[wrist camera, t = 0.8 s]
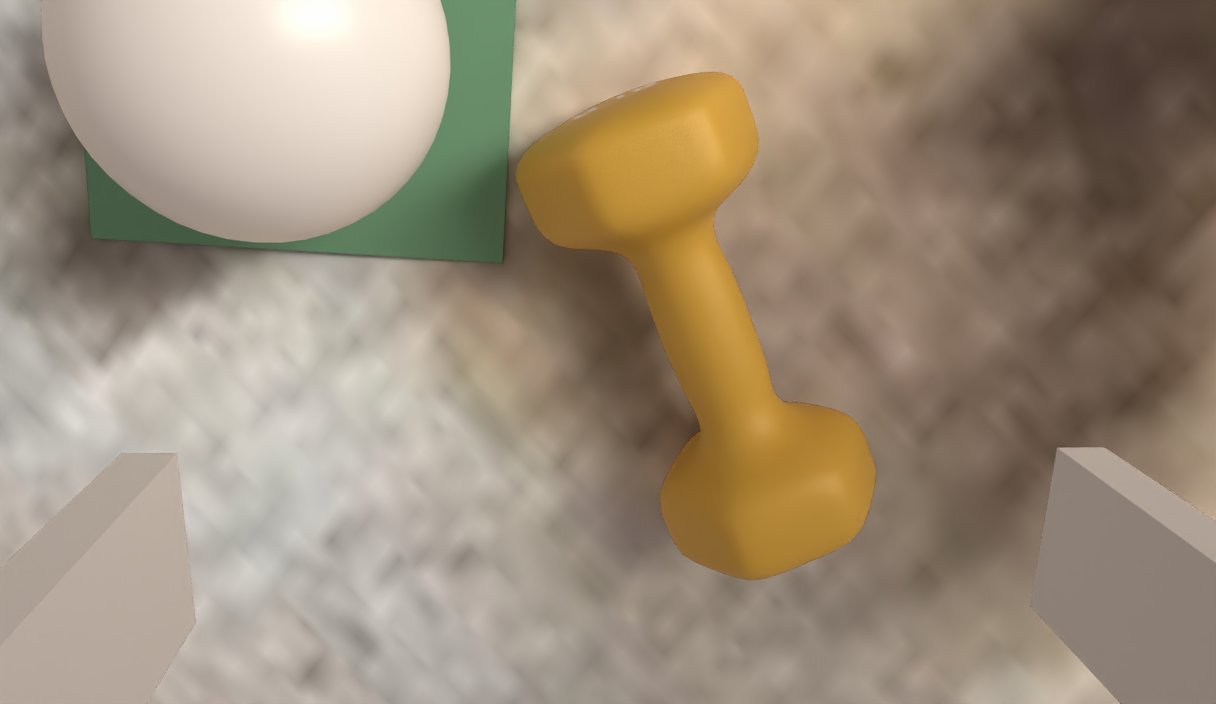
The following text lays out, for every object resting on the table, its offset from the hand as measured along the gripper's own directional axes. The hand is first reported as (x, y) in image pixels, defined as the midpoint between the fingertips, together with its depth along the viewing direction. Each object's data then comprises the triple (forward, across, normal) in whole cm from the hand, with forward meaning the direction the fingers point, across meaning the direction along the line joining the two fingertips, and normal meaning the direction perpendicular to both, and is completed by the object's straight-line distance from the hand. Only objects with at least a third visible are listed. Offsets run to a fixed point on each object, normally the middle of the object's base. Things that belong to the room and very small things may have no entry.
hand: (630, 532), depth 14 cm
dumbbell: (+27, -5, +3) cm, 27 cm away
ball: (+20, +10, -7) cm, 23 cm away
